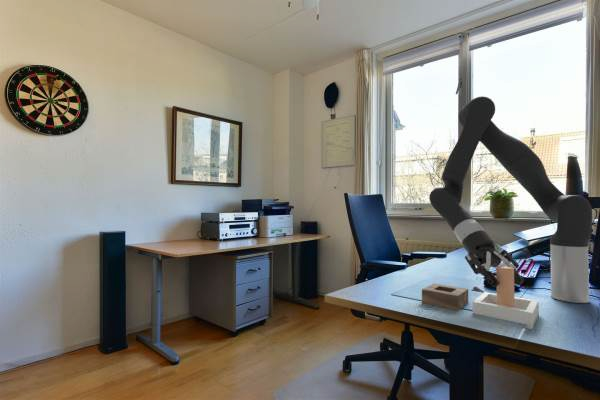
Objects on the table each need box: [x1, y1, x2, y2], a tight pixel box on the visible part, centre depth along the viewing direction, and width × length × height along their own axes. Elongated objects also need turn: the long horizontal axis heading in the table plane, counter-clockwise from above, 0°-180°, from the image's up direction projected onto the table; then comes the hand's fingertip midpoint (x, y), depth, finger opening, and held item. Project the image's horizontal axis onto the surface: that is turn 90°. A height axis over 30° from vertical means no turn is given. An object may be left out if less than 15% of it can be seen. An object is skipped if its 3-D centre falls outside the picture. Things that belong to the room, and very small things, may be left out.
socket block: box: [421, 282, 469, 312], centre depth 94 cm, size 10×10×5 cm
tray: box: [472, 291, 540, 330], centre depth 85 cm, size 13×13×4 cm
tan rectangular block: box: [495, 266, 515, 308], centre depth 85 cm, size 4×4×12 cm
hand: (509, 284), depth 84 cm, fingers open, 8 cm apart
